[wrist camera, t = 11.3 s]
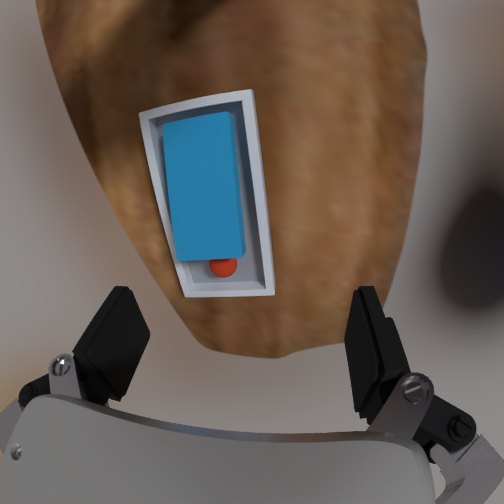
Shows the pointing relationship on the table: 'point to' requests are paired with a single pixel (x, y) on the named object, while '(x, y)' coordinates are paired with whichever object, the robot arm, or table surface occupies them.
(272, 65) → the table surface
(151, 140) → the tray
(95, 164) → the table surface
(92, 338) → the robot arm
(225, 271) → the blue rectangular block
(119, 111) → the table surface
